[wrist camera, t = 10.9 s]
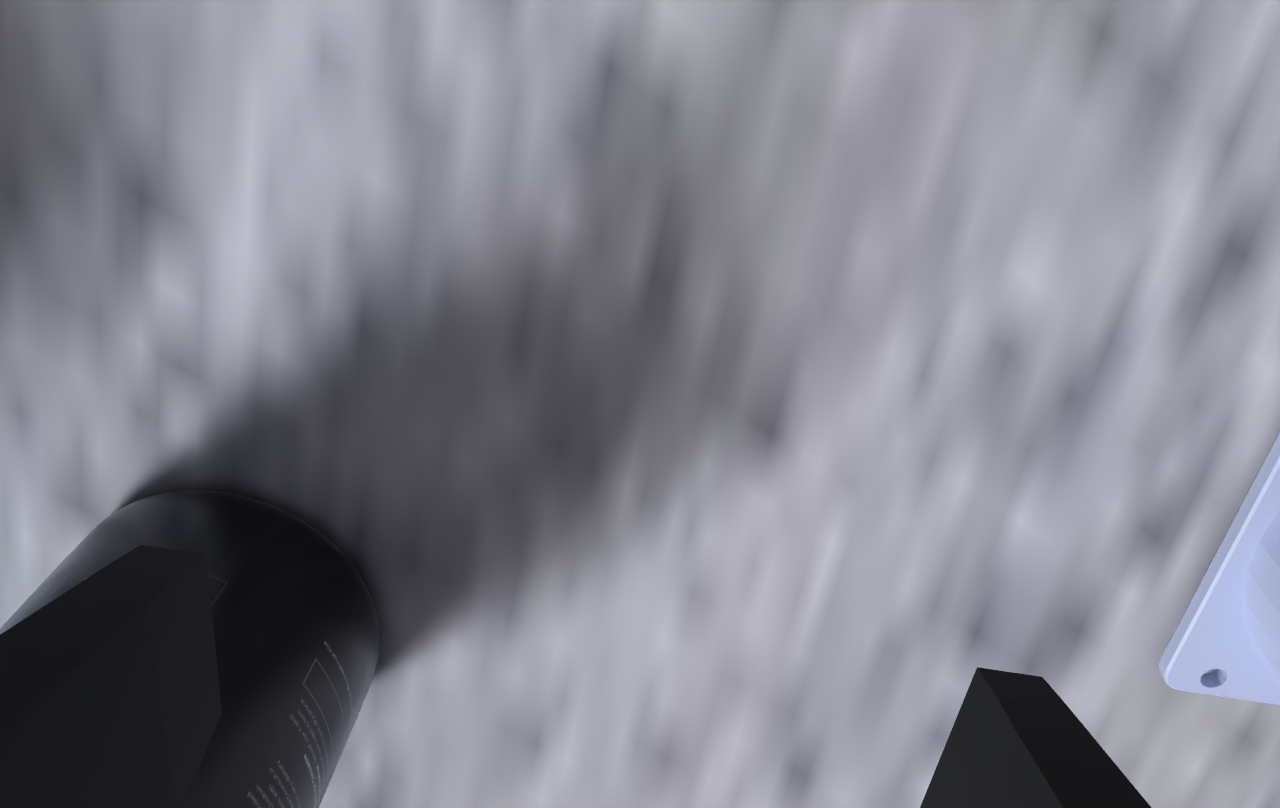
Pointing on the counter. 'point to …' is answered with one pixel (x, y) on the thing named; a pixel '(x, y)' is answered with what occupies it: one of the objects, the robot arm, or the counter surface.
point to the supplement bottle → (256, 638)
